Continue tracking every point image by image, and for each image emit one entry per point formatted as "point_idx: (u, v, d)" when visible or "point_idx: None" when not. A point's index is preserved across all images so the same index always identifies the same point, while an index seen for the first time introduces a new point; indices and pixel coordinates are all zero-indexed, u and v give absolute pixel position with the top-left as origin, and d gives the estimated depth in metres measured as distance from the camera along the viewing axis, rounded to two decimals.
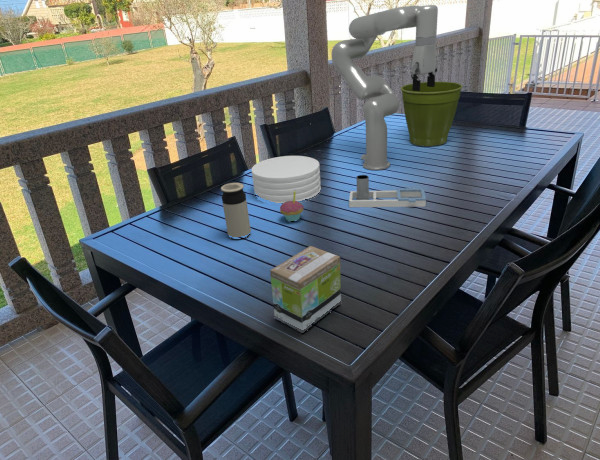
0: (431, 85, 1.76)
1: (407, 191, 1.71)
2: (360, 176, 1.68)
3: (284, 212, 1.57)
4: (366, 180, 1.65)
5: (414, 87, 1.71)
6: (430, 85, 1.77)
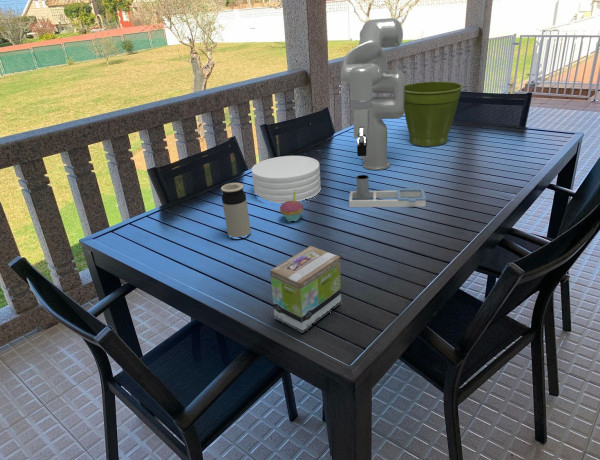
0: None
1: (407, 191, 1.71)
2: (360, 176, 1.68)
3: (284, 212, 1.57)
4: (366, 180, 1.65)
5: (361, 152, 1.57)
6: None
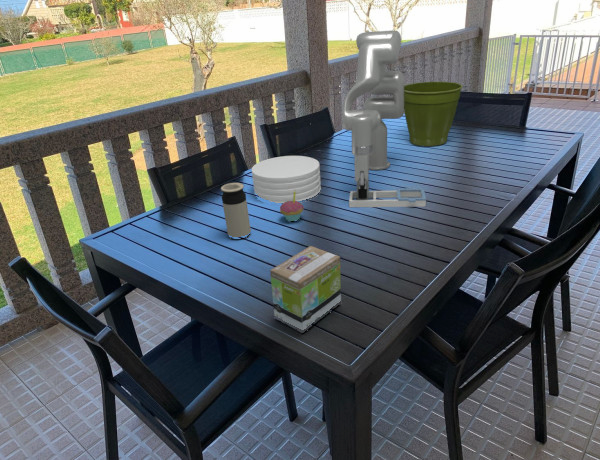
0: None
1: (407, 191, 1.71)
2: None
3: (284, 212, 1.57)
4: None
5: (361, 195, 1.66)
6: None
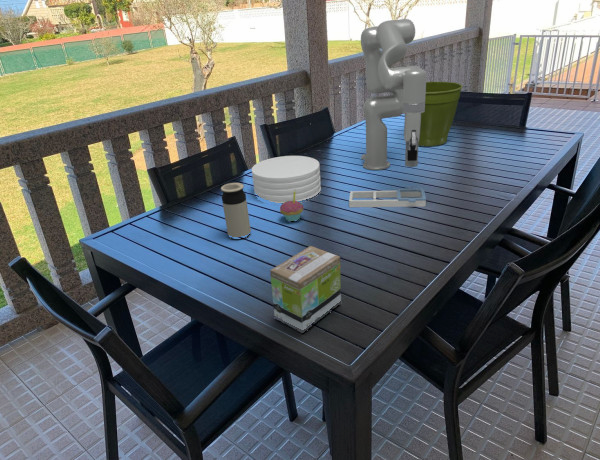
0: None
1: (407, 191, 1.71)
2: None
3: (284, 212, 1.57)
4: None
5: (411, 157, 1.57)
6: None
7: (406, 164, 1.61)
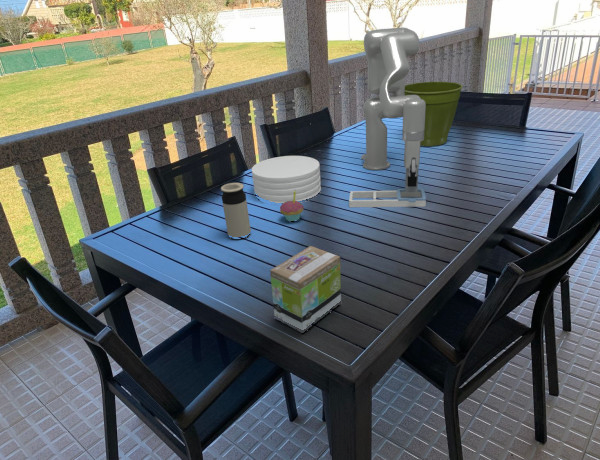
0: None
1: None
2: None
3: (284, 212, 1.57)
4: None
5: (411, 183, 1.61)
6: None
7: (406, 189, 1.65)
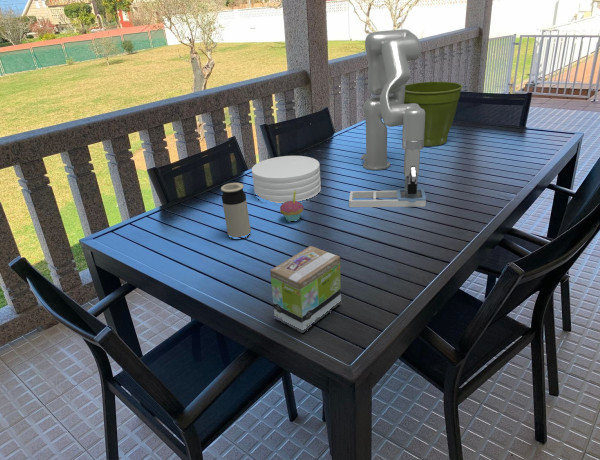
0: None
1: None
2: None
3: (284, 212, 1.57)
4: None
5: (411, 191, 1.61)
6: None
7: None
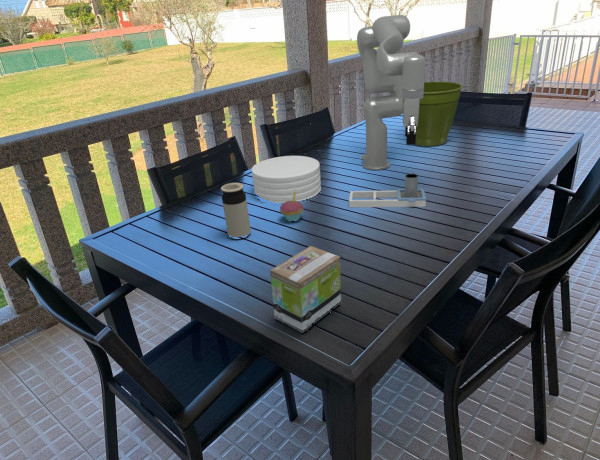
0: None
1: None
2: (408, 175, 1.66)
3: (284, 212, 1.57)
4: (416, 179, 1.62)
5: (410, 141, 1.58)
6: None
7: None
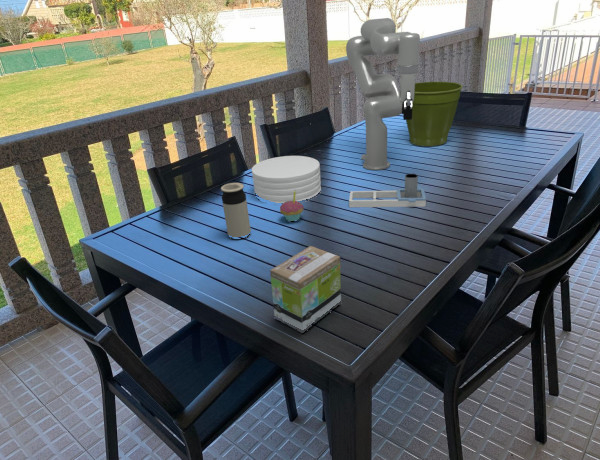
0: None
1: None
2: (408, 175, 1.66)
3: (284, 212, 1.57)
4: (415, 179, 1.63)
5: (407, 116, 1.65)
6: None
7: None
